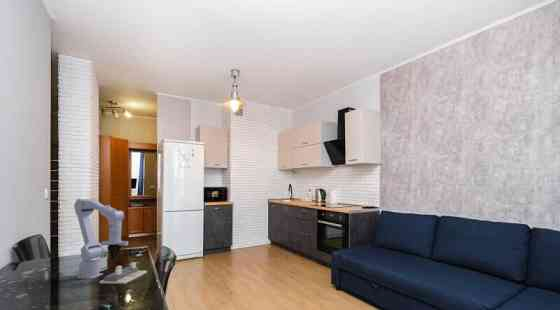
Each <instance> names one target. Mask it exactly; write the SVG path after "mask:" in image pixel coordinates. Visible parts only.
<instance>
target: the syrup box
mask: <svg viewBox="0 0 560 310" xmlns="http://www.w3.org/2000/svg"><path fill="white" fill-rule="evenodd" d="M102 247H103V248H104V255H103V256H102V257H101V259H100V270H99V273H100V272H103V271H106V270H108V267H109V266H108V263H109V262H108V261H109V260H108V259H109V250H108V249H107V247H109V245H103V246H102Z"/></svg>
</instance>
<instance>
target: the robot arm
mask: <svg viewBox="0 0 560 310" xmlns="http://www.w3.org/2000/svg"><path fill="white" fill-rule="evenodd" d="M73 207H74V210H75V215H76V217H77V221H78V224H79V228H80V231H81V235H82V239H83V242H84V244H83V246H82V247H81V248H80V252H81V253H80V257H81V260H82V261H81V262H80V263H79V265H78V276H77V277H76V278H77V279H82V280H83V279H90V280H91V279H95V278H97V277H100V276H102V275H104V273H103V272H102V273H100V272H99V270H100V259H101V257H102V256H103V255H104V248H103V247H102V246H103V245H108V247H107V249H108V253H109V254H110V259H111V260H113V261H114V260H117V258H118V256H119V255H118V254H119V251H121V248H122V246H128V245H129V241H127V240H126V241H125V240H122V228H123V227H122V226H123V225H122V224H123V223H122V222H123V220H124V219H125V212H124V211H123V210H117V209H116V208H114V207H111V205H103V204H102V203H101V202H100V201H99V200H98V199H97V198H95V197H93V198H77V199H76V200H75V202H74V205H73ZM95 210H96V211H99V214H100V215H101V216H103V217H105V218H106V219H107V221H108V226H109V229H108V230H109V232H108V240H107V241H106V240H105V241H101V242H99V241H97V240H96V236H95V233H94V230H93V226H92V222H91V218H90V215H91V214H92V213H93V212H94V211H95Z"/></svg>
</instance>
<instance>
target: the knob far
mask: <svg viewBox="0 0 560 310" xmlns="http://www.w3.org/2000/svg"><path fill="white" fill-rule="evenodd" d="M129 267H130V269H133V268H135V267H137V263H136V262H132V263H130V264H129Z"/></svg>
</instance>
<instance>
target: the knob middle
mask: <svg viewBox="0 0 560 310" xmlns="http://www.w3.org/2000/svg"><path fill="white" fill-rule="evenodd" d="M118 269H123V265H118V266H115V270H118Z"/></svg>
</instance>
